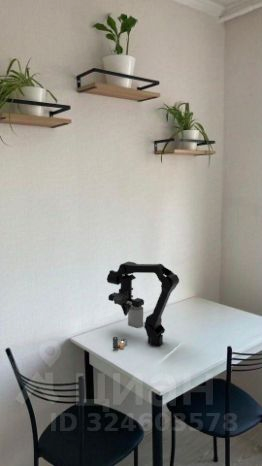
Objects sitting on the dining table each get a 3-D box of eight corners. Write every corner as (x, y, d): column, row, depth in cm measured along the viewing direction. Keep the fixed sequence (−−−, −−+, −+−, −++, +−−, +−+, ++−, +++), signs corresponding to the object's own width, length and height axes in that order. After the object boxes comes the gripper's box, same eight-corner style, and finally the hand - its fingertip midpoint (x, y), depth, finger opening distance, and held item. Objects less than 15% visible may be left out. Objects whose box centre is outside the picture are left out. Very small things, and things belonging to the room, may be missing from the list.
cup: (141, 328, 215) (141, 311, 213) (126, 327, 216) (127, 310, 214) (144, 322, 223) (144, 305, 221) (129, 321, 224) (130, 304, 222)
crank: (121, 341, 196) (121, 330, 195) (128, 343, 194) (128, 332, 193) (110, 349, 188) (110, 337, 186) (117, 351, 185) (117, 340, 184)
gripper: (101, 287, 197) (101, 316, 200) (132, 294, 187) (132, 325, 190) (114, 281, 206) (114, 309, 209) (145, 288, 196) (144, 317, 199)
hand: (125, 315), depth 202 cm, fingers closed
